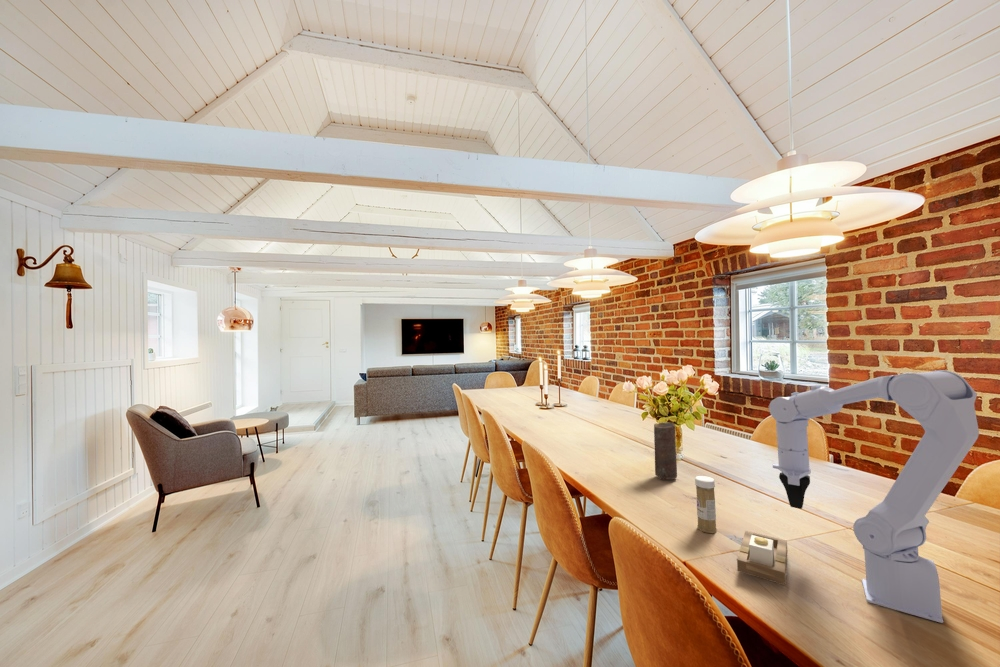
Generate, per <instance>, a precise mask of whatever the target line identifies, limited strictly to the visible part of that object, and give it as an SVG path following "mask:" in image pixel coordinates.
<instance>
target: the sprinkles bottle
mask: <svg viewBox="0 0 1000 667" xmlns="http://www.w3.org/2000/svg"><path fill="white" fill-rule="evenodd" d="M694 485H695V488H696V515H697V516H696V517H697V529H698V530H699V531H701V532H703V533H706V534H707V533H708V534H713V533H716V532H717V530H718V529H717V519H716V518H717V514H716V512H717V511H716V509H717V508H716V497H715V487H716V484H715V479H714V478H712V477H710V476H707V475H706V476H705V475H697V476H695V478H694Z"/></svg>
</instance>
